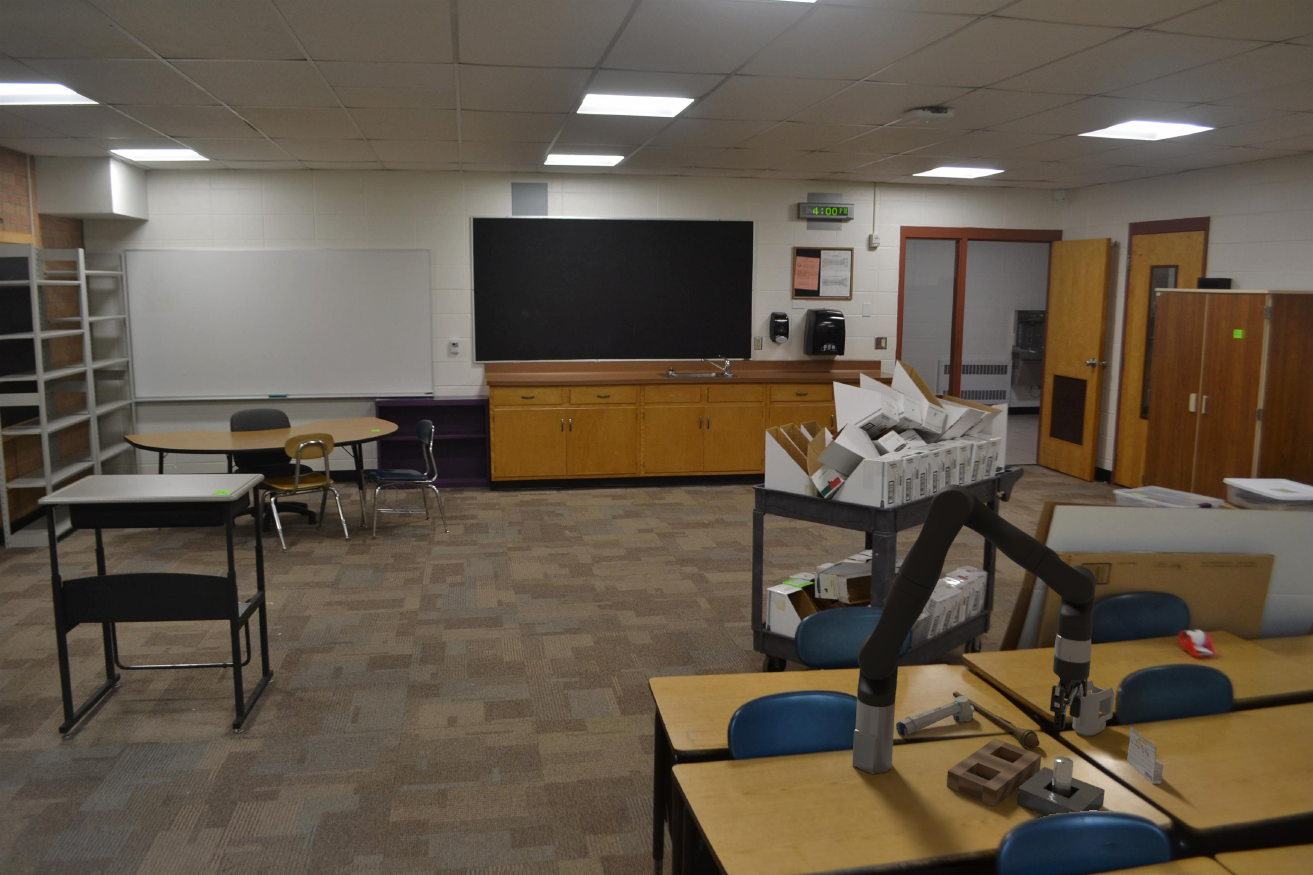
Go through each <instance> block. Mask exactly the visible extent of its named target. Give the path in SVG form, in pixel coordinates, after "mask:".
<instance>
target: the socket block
mask: <svg viewBox="0 0 1313 875" xmlns="http://www.w3.org/2000/svg"><path fill="white" fill-rule="evenodd" d="M1052 780H1053V769H1051V768H1048V767H1046V766H1044V767H1042V768H1040V771H1039V772H1037V773H1036V774H1035V775H1034V776H1032V777H1031V778H1030V779H1029V780H1027V781H1026V782H1025V783H1024V784H1022V785H1021V786H1020V787H1018V788H1017V796H1016V797H1017V799H1016V804H1017V805H1019V806H1021V807H1023V808H1026V809H1028V810H1031V811H1033V812H1036V813H1038V814H1041V815H1043V816H1045V815H1049V814H1056V813H1069V812H1080V811H1089V810H1098V811H1099V810H1100V809H1102V807H1104V803H1105V802H1104V801H1105V789H1104V788H1102V787H1098V786H1097V785H1094V784H1091V783H1088V782H1086V781H1083V780H1080V779H1077V778H1075V777H1073V776H1072V783H1071V795H1070V798H1066V797H1063V796H1061V795H1058V794H1056V793H1053V792H1052Z"/></svg>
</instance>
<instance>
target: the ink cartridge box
mask: <svg viewBox="0 0 1313 875" xmlns="http://www.w3.org/2000/svg"><path fill="white" fill-rule="evenodd" d="M1140 739H1142V741H1144V743H1145V744H1144V743H1143V742H1142V741H1141V740H1140ZM1156 755H1157V746H1156V745H1155V744H1154V743H1152V742H1151V741H1150V740H1149V739H1148V738H1146V737H1145V736H1144V735H1142V734H1141V733H1139V731H1137V730H1136V729H1135V728H1133V727H1132V726H1129V744H1128V751H1127V759H1126V761H1127V763H1128V764H1129V765H1130V766H1132V767H1133V768H1134V769H1135V770H1136V771H1137V772H1138V773H1139V774H1141V775H1142V776H1143V777H1144V778H1145V779H1146V780H1147V781H1148V782H1149V783H1151V784H1153V785H1161V784H1162V779H1163V773H1164V772H1163V770H1164V764H1163V763H1162V762H1161V761H1160V760H1158V759H1157V758H1156V757H1157V756H1156Z"/></svg>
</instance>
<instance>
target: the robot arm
mask: <svg viewBox="0 0 1313 875" xmlns="http://www.w3.org/2000/svg"><path fill="white" fill-rule="evenodd" d="M923 522H924V523H923V525H922V528H921V530H920V532H919V535H918V537H917V539H916V540H915V542H914V543H913V544H912V546H911V548H910V550H909V551H908V553H907V554H906V556H905V558H904V559H903V561H902V563H901V565H900V566H899V569H898V570H897V572H896V574H895V576H894V579H893V581H892V583H891V585H890V588H889V589H888V590H889V591H888V593H887V595H886V598H885V602H884V605H883V608H882V612H881V615H880V617H879V620H878V622H877V624H876V626H875V628H874V630H873V631H872V633H870V634H869V635H867V636H866V637H865V638H864V640H863V641H862V642H861V644H860V648H859V651H858V656H857V663H858V667H859V675H858V682H857V692H856V693H857V697H856V711H855V712H856V714H855V715H856V717H855V729H854V731H853V746H852V766H853V767H855V768H858V769H860V770H862V771H864V772H867V773H869V774H871V775H875V774H881V773H886V772H888V771H890V770H891V769H892V767H893V752H894V749H893V748H894V729H895V711H896V697H897V688H898V687H897V686H898V672H899V658H900V657H899V656H900V654H901V651H902V649H903V646H904V643H905V642H906V639H907V637H908V635H909V633H910V631H911V630H912V628H913V627H914V625H915V623H916V622H917V621H918V619H919V618H920V616H921V614H922V613H923V610H924V609H925V607H926V605H927V604H928V603H929V600H930V598H932V597H931V596H932V594H933V592H934V591H935V589H936V587H937V584H938V581H939V580H940V577H941V574H942V571H943V568H944V565H945V561H946V558H947V555H948V552H949V550H950V548H951V546H952V544H953V543H954V541H955V539H956V537H957V536H958V534H959V533H960V531H961V530H962V528H963V527H965V528H968V529H969V530H972V531H974V532H976V533H977V534H979V535H980V536H982V537H983V538H985V540H987V541H988V542H990V543H991V544H992V545H993V546H994V547H995V548H997V549H998V550H999V551H1000V552H1001V553H1002V554H1004V556H1006V557H1007V558H1008V559H1009V560H1011V561H1012V562H1013V563H1015V564H1016V565H1018V567H1019V566H1020V567H1021V568H1023V569H1024V570H1026V571H1027V572H1029V573H1031V574H1032V575H1033V576H1036V577H1038V578H1039V579H1040V580H1041V581H1042V582H1043V583H1044V584H1046V586H1048V587H1049V588H1050V589H1051V590H1053V591H1054V592H1055V593H1056V594H1057V595H1058V596H1060V597H1061V598H1060V600H1061V601H1060V610H1059V614H1058V617H1057V618H1058V619H1057V630H1056V637H1055V641H1054V642H1055V643H1054V652H1053V653H1054V654H1053V665H1052V670H1053V673H1054V674H1055V675H1056V676H1058V678H1059V681H1058V683H1057V685H1054V684H1053V685H1052V686H1051V694H1050V695H1051V696H1050V706H1049V711H1050V712H1051V713H1054V716H1053V727H1054V728H1056V729H1058V730H1061V731H1063V730H1065V728H1066V718H1067V711H1068V708H1069V711H1068V712H1069V716H1070V717H1075V718H1079V717H1080V713H1081V702H1082V701H1083V697H1086V695H1087V681H1089V677H1090V670H1091V661H1092V659H1091V658H1092V632H1093V607H1094V600H1095V594H1096V587H1097V580H1096V576H1095V574H1094V573H1093V572H1092V570H1090V569H1089V568H1088V567H1087V566H1083V565H1078V564H1077V565H1072V566H1071V565H1069V564H1068V563H1067V562H1066V561H1063V560H1062V559H1061V558H1060V555H1059V554H1058V553H1057V552H1056V551H1055V550H1054V549H1053V548H1051V547H1050V546H1047V545H1046V544H1044V543H1042V542H1041V541H1040V540H1037V539H1036V538H1035V537H1033V536H1031V535H1030V534H1028V533H1027V532H1025V531H1024V530H1021V529H1020V528H1018V526H1015V525H1014V524H1012V523H1010V522H1009V521H1008V520H1006V519H1005V518H1003V517H1002V516H1000V515H999V514H997V513H996V512H995V511H994V510H993V509H991V508H990V507H989V506H987V505H986V504H985V503H983V501H981V500H980V499H979V498H978V497H977V496H976V495H975V494H974V493H972V492H971V491H970V490H969V489H968V488H967V487H965V486H963V485H961V484H956V483H955V484H953V483H952V484H948V485H945V486H944V487H942V488H941V489H939V490H938V491H937V492H936V493H935V494H934V496H933V497H932V499H931V502H930V505H929V507H928V511H927V514H926V518H925V520H924V521H923ZM1082 687H1083V689H1082Z"/></svg>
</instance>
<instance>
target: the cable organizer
mask: <svg viewBox="0 0 1313 875" xmlns="http://www.w3.org/2000/svg"><path fill="white" fill-rule="evenodd" d="M1082 689H1083V687H1082ZM1114 700H1115V692H1114V688H1113V687H1112V686H1111V687H1108V688H1106V689H1104V688H1101V687H1098V686H1095V685H1094V682H1093V680H1092V679H1090V680H1089V679H1088V680H1087V695H1086V697H1083V701H1082V702H1081V713H1080V717H1079V718H1075V717H1073V718H1072V725H1071V726H1072V729H1073V730H1074V731H1075V732H1076V733H1077V734H1079V735H1081V736H1086V737H1091V736H1092V737H1093V736H1095V735H1097V734H1099V733H1101V732H1103V731H1104V730H1105V729H1106V726H1107V725H1106V724H1107V721H1108V720H1110V719H1112V718H1113V713H1114ZM1099 713H1101V714H1104V715H1102V716H1100V715H1099Z"/></svg>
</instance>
